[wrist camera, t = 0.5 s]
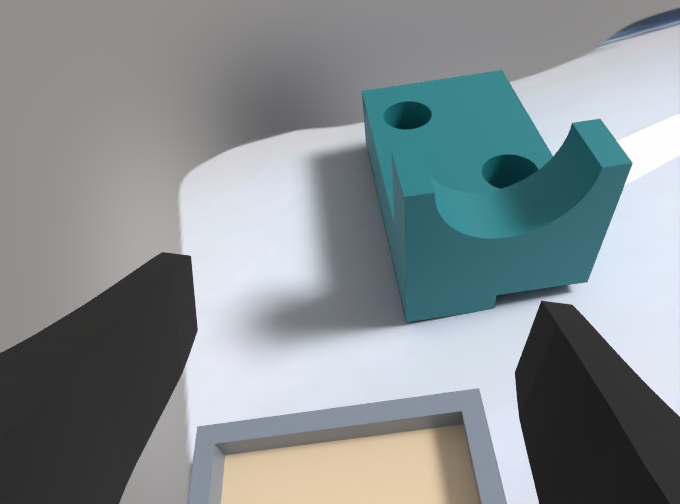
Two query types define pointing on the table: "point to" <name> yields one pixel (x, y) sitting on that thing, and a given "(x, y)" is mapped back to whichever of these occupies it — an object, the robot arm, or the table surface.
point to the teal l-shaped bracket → (485, 193)
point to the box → (353, 456)
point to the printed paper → (652, 146)
